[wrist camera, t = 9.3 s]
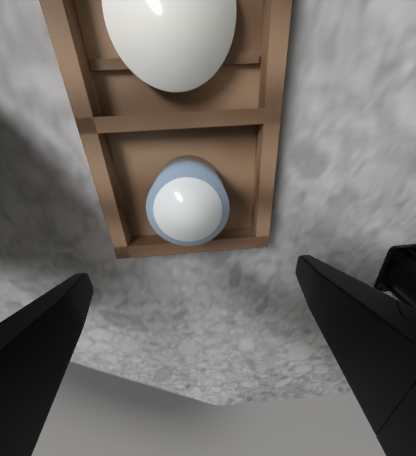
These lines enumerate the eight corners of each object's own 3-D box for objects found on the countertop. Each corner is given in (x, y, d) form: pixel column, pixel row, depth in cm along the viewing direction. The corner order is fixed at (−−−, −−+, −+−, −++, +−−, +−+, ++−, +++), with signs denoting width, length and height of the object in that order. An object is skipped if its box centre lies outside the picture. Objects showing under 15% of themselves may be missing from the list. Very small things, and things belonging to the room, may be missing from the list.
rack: (261, 234, 23) (268, 246, 21) (124, 244, 22) (117, 258, 20) (287, -107, 12) (307, -153, 10) (29, -103, 12) (-6, -150, 10)
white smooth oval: (232, 90, 16) (235, 88, 15) (124, 95, 15) (119, 94, 14) (233, -74, 12) (237, -92, 11) (91, -71, 12) (82, -89, 11)
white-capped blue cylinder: (221, 215, 21) (229, 244, 16) (161, 219, 20) (152, 249, 16) (220, 153, 18) (230, 167, 13) (152, 156, 18) (138, 172, 13)
